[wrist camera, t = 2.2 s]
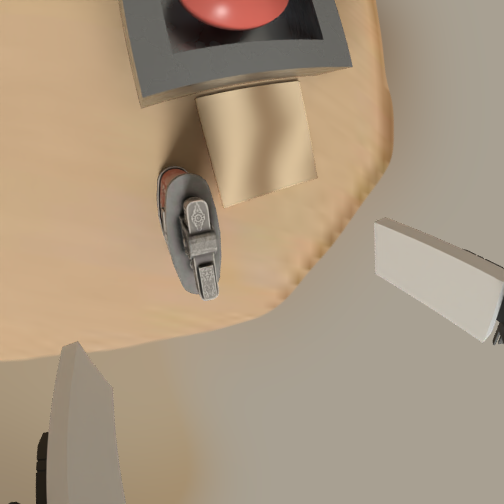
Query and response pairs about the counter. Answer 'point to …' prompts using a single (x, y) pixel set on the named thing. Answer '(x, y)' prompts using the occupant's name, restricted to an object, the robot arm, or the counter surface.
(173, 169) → the lighter
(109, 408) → the robot arm
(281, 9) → the button
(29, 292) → the counter surface
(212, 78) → the grey open box
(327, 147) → the counter surface
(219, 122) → the coaster
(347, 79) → the counter surface
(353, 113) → the counter surface
